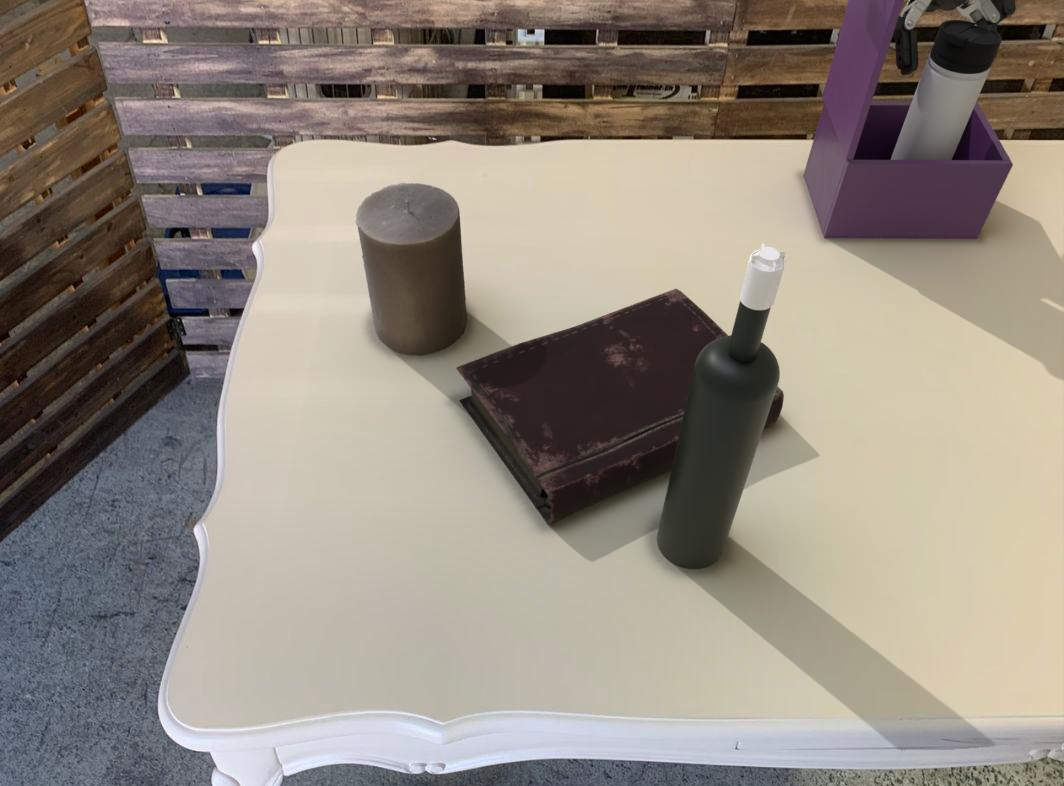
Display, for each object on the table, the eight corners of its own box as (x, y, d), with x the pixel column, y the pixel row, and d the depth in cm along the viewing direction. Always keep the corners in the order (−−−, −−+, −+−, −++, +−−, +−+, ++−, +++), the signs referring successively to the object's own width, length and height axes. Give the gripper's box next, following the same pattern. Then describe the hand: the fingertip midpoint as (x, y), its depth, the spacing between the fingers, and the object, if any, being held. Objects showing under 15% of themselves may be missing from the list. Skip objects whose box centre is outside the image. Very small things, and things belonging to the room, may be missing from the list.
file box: (944, 180, 111) (977, 102, 103) (975, 243, 103) (1013, 164, 95) (802, 179, 110) (824, 101, 102) (822, 242, 103) (848, 163, 95)
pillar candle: (482, 341, 93) (477, 213, 81) (394, 370, 90) (376, 243, 78) (444, 286, 98) (434, 158, 86) (359, 313, 95) (337, 185, 83)
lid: (880, -90, 87) (829, -90, 87) (914, -33, 80) (858, -33, 80) (829, 97, 102) (785, 97, 102) (853, 159, 95) (806, 159, 95)
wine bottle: (732, 565, 77) (834, 276, 52) (668, 578, 76) (741, 290, 51) (709, 513, 80) (794, 218, 55) (647, 525, 79) (706, 231, 55)
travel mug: (864, 203, 106) (928, 25, 90) (894, 181, 109) (961, 5, 93) (911, 226, 104) (984, 48, 87) (940, 203, 106) (1017, 26, 90)
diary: (776, 431, 86) (790, 394, 82) (550, 533, 78) (552, 497, 74) (665, 317, 95) (672, 278, 91) (454, 399, 88) (452, 361, 84)
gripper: (895, -116, 88) (904, 62, 90) (1029, -124, 89) (1033, 50, 92) (857, -76, 95) (866, 87, 98) (981, -84, 97) (987, 76, 99)
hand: (947, 69), depth 95 cm, fingers open, 8 cm apart
